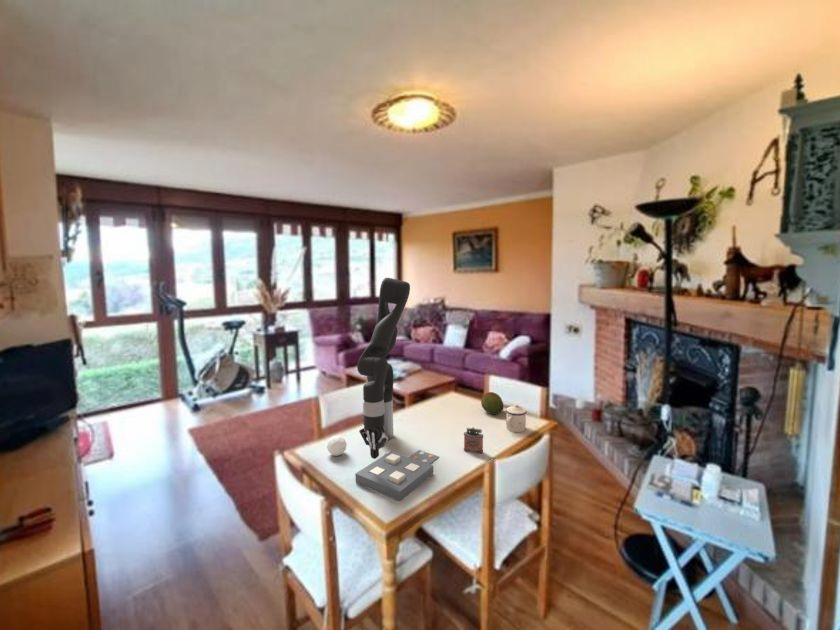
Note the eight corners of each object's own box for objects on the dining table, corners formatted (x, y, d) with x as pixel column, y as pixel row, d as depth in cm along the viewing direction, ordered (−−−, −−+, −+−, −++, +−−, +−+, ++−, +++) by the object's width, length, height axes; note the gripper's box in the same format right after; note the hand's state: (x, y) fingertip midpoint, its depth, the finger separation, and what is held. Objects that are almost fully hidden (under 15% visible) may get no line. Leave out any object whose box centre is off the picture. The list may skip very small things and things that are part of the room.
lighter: (462, 451, 165) (462, 428, 163) (464, 447, 168) (465, 425, 166) (482, 454, 162) (482, 431, 160) (483, 451, 165) (484, 427, 164)
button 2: (404, 474, 146) (404, 467, 145) (411, 469, 149) (411, 463, 149) (413, 477, 143) (413, 470, 143) (420, 472, 147) (420, 466, 146)
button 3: (369, 478, 144) (369, 471, 143) (376, 473, 147) (376, 466, 146) (378, 481, 141) (377, 474, 141) (385, 476, 145) (385, 469, 144)
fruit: (491, 406, 214) (491, 388, 213) (510, 413, 204) (510, 394, 203) (476, 411, 207) (476, 393, 205) (495, 419, 197) (495, 399, 196)
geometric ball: (340, 462, 163) (341, 452, 157) (323, 454, 164) (323, 444, 158) (349, 446, 168) (350, 436, 163) (332, 438, 169) (333, 429, 164)
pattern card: (407, 458, 159) (407, 457, 159) (418, 450, 166) (418, 449, 166) (428, 465, 154) (428, 464, 154) (439, 457, 160) (439, 456, 160)
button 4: (388, 482, 138) (388, 475, 138) (396, 477, 142) (396, 470, 141) (398, 486, 136) (397, 479, 136) (405, 481, 139) (405, 474, 139)
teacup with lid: (511, 422, 192) (512, 399, 191) (529, 428, 186) (530, 404, 185) (498, 431, 183) (499, 406, 182) (516, 436, 178) (517, 411, 176)
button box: (355, 482, 143) (355, 473, 142) (391, 459, 159) (390, 451, 159) (400, 501, 132) (399, 491, 131) (433, 474, 148) (433, 465, 147)
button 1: (385, 464, 151) (385, 457, 150) (392, 459, 154) (392, 453, 154) (394, 467, 148) (393, 460, 148) (400, 462, 152) (400, 456, 151)
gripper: (352, 410, 141) (354, 456, 144) (380, 419, 134) (381, 467, 136) (367, 404, 147) (368, 448, 150) (395, 412, 140) (395, 458, 142)
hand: (374, 457), depth 143 cm, fingers closed
